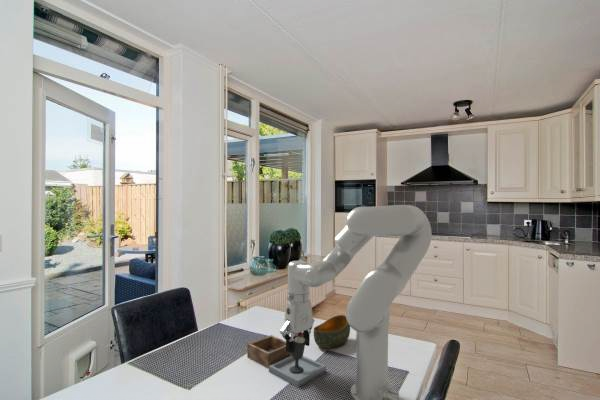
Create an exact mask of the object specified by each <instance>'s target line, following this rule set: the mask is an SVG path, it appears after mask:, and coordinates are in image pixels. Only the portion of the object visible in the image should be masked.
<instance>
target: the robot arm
mask: <svg viewBox="0 0 600 400" xmlns="http://www.w3.org/2000/svg"><path fill="white" fill-rule="evenodd" d="M345 222H346V225H345V226H344V227H343V228H342V229H341V230H340V231H339V232H338V233H337V234H336V236H334V244H335V245H334V247H333V249H332V250H331V251H330V252H329V254H328V255H326V256H325V257H324V259H322V260H321V261H317V262H314V263H310V264H309V262H308V261H305V260H292V261H290V262H289V263H288V264H287V296H286V300H287V301H286V303H285V312H284V323H283V326H282V327H281V329H280V330H279V333H280V335H281V336H282V337H283V340H284V341H286V351H288V352H290V353H294V341H292V340H293V337H294V334H297V333H300V332H302V334H303V337H304V338H305V339H307V340H308V341H307V342H306V344H305V346H307V347H310V345H311V344H310V336H311V334H312V330H313V327H314V324H315V323H314V322H315V319H314V318H313V307H312V301H311V299H310V288H318V287H321V286H322V285H324V284H327V283H330V282H332V281H333V280H334V279H335V278H337V277H338V276H339V275H340V274H341V273H342V272H343V271H344V270H345V269H346V268H347V266H348V265H349V264H350V263H351V262H352V260H353V259H354V257H355V256H356V254H357V253H359V252H360V251H361V250H362V249H363V248H364V246H366V244H368V242H370V241H371V240H372V239H373V237H399V239H398V240H397V242H396V243H395V244H394V246H393V247H392V249H391V250H390V252H389V254H388V256H386V258H385V259H384V261H383V262H382V264H380V265H378V266H376V267H375V268H373V269H371V270H370V271H369V272H368V273H367V274H366V275H365V276H364V278H363V280H362V281H361V282H360V284H359V286H358V287H357V288H356V290H355V292H354V294H353V295H352V296H351V298H350V300H349V301H348V303H347V305H346V308H345V316H346V319H347V322H348V324H349V325H350V329H353V331H355V332H356V337H355V342H356V343H355V345H356V346H355V383H354V384H353V385H351V387H350V396H351V398H352V399H353V400H400V392H399V391H396V390H394V389H392V382H389V381H388V380H389V379H388V378H389V372H388V371H389V365H388V363H389V329H390V328H389V327H390V319H391V305H392V303H393V302H394V301H395V299H396V298H397V297H398V296H399V295H400V294H401V293H402V292H403V291H404V289H405V288H406V286H407V285H408V282H409V281H410V279H411V277H412V276H413V275H414V273H415V271H416V270H417V269H418V267H419V265H420V264H421V262H422V260H424V258H425V255H426V254H427V252H428V250H429V248H430V245H431V242H432V227H431V223H430V221H429V218H428V217H427V216H426V213H425V212H423V210H422V209H420V208H419V207H417V206H415V205H412V204H394V205H393V204H392V205H378V206H377V205H376V206H357V207H354V208H353V209H352V210H351V211H350V212H349V213H348V215H347V217H346V221H345Z"/></svg>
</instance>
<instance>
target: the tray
mask: <svg viewBox="0 0 600 400" xmlns="http://www.w3.org/2000/svg"><path fill="white" fill-rule="evenodd" d="M298 364H299V366H300V367H302V368H303V369H304V370H303V372H301V373H293V372H291V371H290V370H289V369H290V367H292V366H295V359H294V358H293V357H292V356H290V357H287V358H285V359H283V360H281V361H279V362H277V363H274V364H272V365H270V366H269V368H268V372H269V373H270V374H272V375H274V376H276V377H277V378H279V379H281V380H282V381H283V380H284V381H285V382H287V383H289V384H291V385H292V386H294V387H297V388H300V387H302V386H304V385H305V384H307V383H308V382H310V381H312V380H313V379H316V378H318V377H319V376H322V375H323V374H324V373H326V372H327V366H326V365H325V364H322V363H320V362H319V361H316V360H313V359H311V358H309V357H307V356H304V355H303V356H302V358H301V359H299V362H298Z"/></svg>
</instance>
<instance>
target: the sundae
mask: <svg viewBox="0 0 600 400" xmlns="http://www.w3.org/2000/svg"><path fill="white" fill-rule="evenodd" d="M292 341H294V353H291V354H292V357H293V358H294V359H295V366H292V367H290V369H289V370H290V371H291V372H293V373H301V372H303V370H304V369H303V368H302V367H300V366H299V364H298V362H299V359H301V358H302V356H304V354H305V353H304V352H305V346H306V345H305V344H306V342H307V341H308V340H307V339H305V338H304V337H303V334H302V332H300V333H297V334H294V337H293V340H292Z"/></svg>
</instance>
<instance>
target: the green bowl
mask: <svg viewBox="0 0 600 400" xmlns="http://www.w3.org/2000/svg"><path fill="white" fill-rule="evenodd" d="M350 334H351V327H350V325H349V324H348V322H347V319H346V314H345V315H344V314H338V315H334V316H333V317H330V318H328V319H327V320H325V321H324V322H322V323H320V324H319V325H316V326H314V328H313V338H314V342H315V344H316V345H317V347H318V349H320V350H322V351H324V350H325V351H330V350H336V349H338V348H342V347H344V346H345V345H346V344H347V342H348V340H349V338H350Z"/></svg>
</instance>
